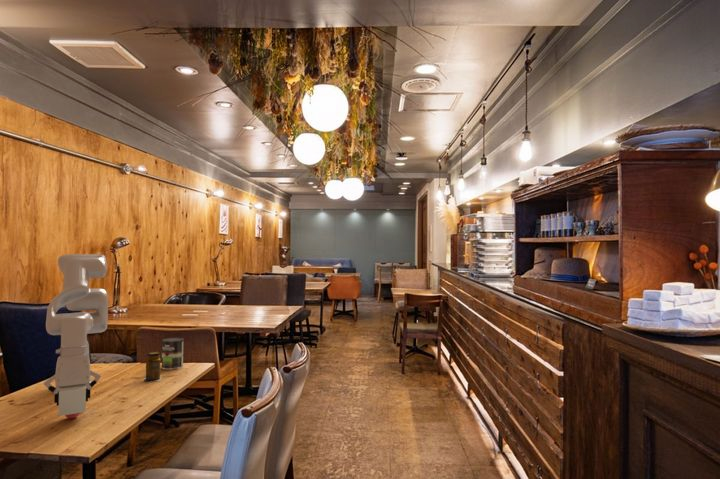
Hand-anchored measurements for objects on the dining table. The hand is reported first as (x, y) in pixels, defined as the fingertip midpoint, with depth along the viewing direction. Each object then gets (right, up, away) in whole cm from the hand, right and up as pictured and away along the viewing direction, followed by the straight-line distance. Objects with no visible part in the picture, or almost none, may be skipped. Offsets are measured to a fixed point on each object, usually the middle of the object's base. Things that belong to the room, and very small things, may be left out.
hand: (72, 402), depth 154 cm
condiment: (+4, -8, +50) cm, 51 cm away
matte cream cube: (-1, -2, +1) cm, 3 cm away
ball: (-2, -4, +2) cm, 5 cm away
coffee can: (+4, -9, +72) cm, 73 cm away
